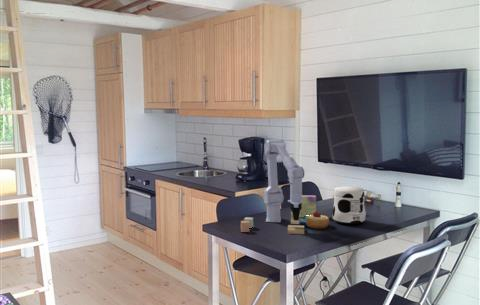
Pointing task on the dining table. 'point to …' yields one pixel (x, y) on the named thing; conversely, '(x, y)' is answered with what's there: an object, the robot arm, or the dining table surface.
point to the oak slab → (295, 229)
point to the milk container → (349, 205)
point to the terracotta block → (244, 226)
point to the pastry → (317, 221)
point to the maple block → (294, 220)
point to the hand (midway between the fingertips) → (296, 219)
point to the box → (308, 205)
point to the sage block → (249, 221)
